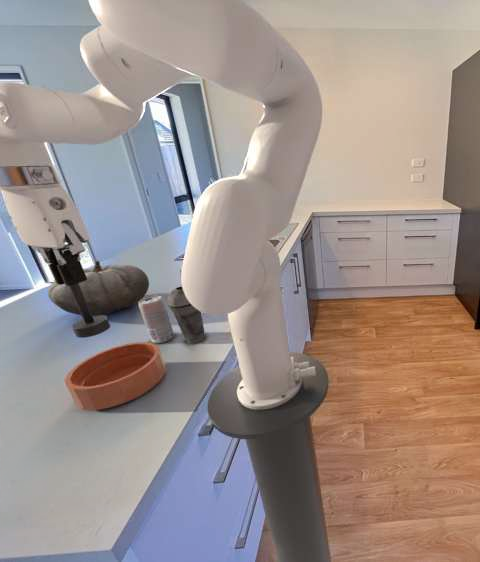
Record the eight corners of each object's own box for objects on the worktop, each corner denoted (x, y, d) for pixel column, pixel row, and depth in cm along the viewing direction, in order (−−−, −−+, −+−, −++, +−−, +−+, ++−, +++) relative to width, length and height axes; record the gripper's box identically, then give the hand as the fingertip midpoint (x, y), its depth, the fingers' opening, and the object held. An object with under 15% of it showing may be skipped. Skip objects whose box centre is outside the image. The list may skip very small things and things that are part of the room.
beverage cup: (176, 339, 83) (154, 272, 75) (204, 329, 87) (186, 264, 80) (185, 350, 78) (162, 279, 70) (214, 338, 83) (196, 270, 75)
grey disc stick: (115, 322, 63) (86, 249, 56) (101, 335, 58) (68, 257, 52) (86, 325, 61) (53, 251, 55) (69, 339, 57) (31, 260, 51)
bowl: (176, 358, 75) (169, 337, 73) (149, 403, 61) (140, 380, 58) (103, 369, 71) (94, 348, 69) (57, 420, 57) (43, 396, 55)
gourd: (96, 324, 86) (71, 266, 82) (38, 329, 93) (12, 275, 88) (170, 295, 110) (154, 249, 105) (120, 301, 116) (102, 258, 112)
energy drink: (169, 331, 87) (157, 293, 82) (178, 336, 84) (165, 298, 79) (148, 339, 83) (134, 300, 78) (156, 346, 80) (142, 306, 75)
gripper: (87, 177, 50) (124, 278, 57) (25, 177, 54) (67, 272, 61) (29, 180, 43) (79, 295, 50) (-37, 180, 47) (18, 286, 54)
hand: (72, 281), depth 56 cm, fingers closed on grey disc stick, 1 cm apart
